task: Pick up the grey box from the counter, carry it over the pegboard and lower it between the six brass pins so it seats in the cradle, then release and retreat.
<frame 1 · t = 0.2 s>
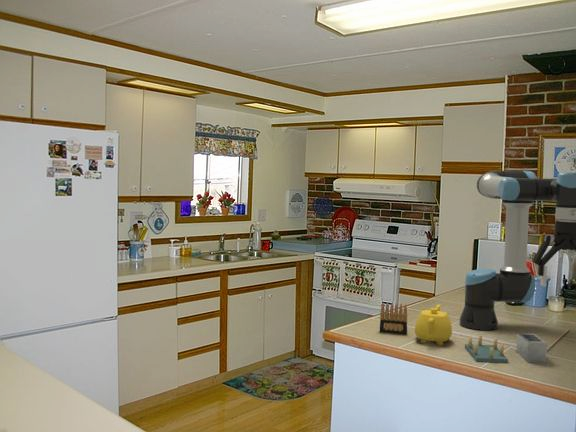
hand: (564, 286, 174), 27 cm above the countertop, fingers open, 13 cm apart
ammunition clip: (393, 333, 213), on the countertop
pegboard: (485, 354, 188), on the countertop
teapot: (433, 340, 204), on the countertop
grey box: (530, 357, 186), on the countertop
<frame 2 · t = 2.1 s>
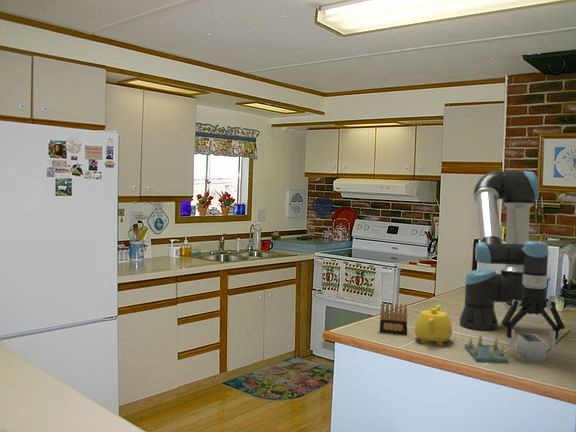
hand: (531, 348, 185), 3 cm above the countertop, fingers open, 13 cm apart
nothing on the countertop moved.
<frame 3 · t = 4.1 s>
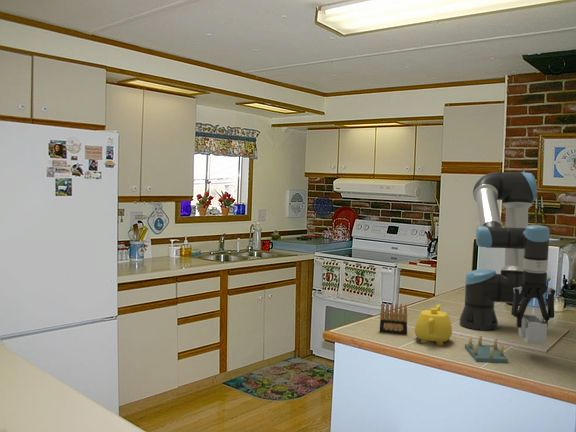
hand: (531, 336, 186), 7 cm above the countertop, fingers closed on grey box, 6 cm apart
grey box: (531, 338, 186), point 6 cm above the countertop, touching gripper
everything else where it was.
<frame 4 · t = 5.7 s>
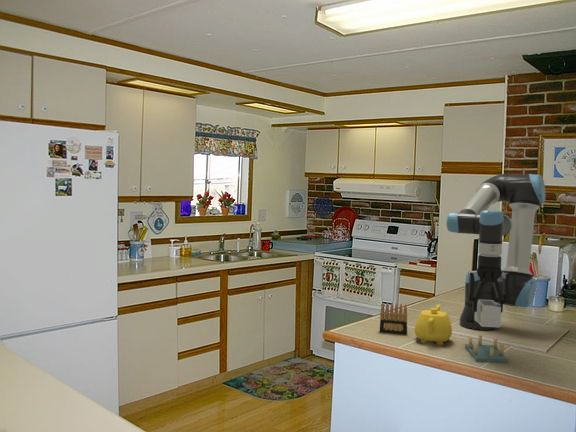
hand: (486, 321, 187), 12 cm above the countertop, fingers closed on grey box, 6 cm apart
grey box: (486, 322, 186), point 11 cm above the countertop, touching gripper
everything else where it was.
when the fingers open (2 cm above the countertop, at t = 7.4 s): grey box stays where it is, resting on pegboard.
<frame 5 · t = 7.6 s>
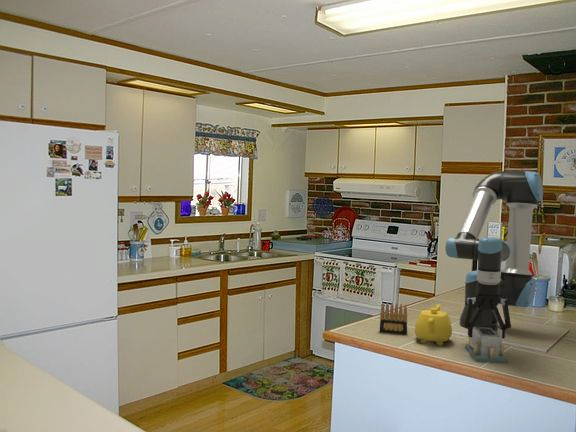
hand: (485, 346, 187), 3 cm above the countertop, fingers open, 8 cm apart
grey box: (485, 351, 187), point 1 cm above the countertop, touching pegboard
everything else where it was.
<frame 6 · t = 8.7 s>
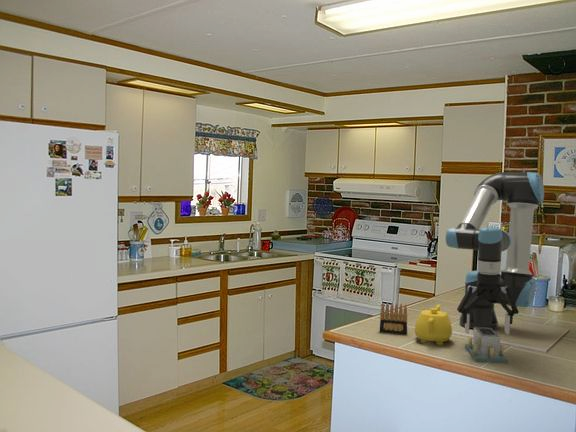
hand: (486, 332, 188), 8 cm above the countertop, fingers open, 13 cm apart
nothing on the countertop moved.
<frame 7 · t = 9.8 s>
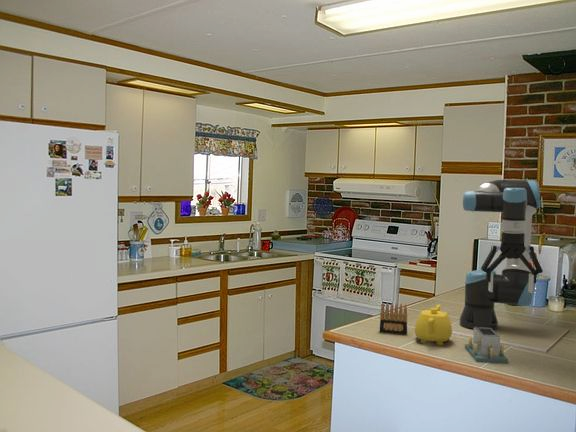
hand: (510, 291, 190), 22 cm above the countertop, fingers open, 13 cm apart
nothing on the countertop moved.
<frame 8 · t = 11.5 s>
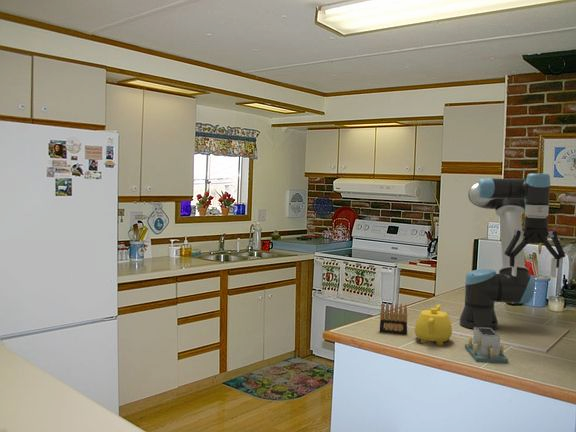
hand: (533, 276, 192), 27 cm above the countertop, fingers open, 13 cm apart
nothing on the countertop moved.
at the end: grey box 0.1 cm off-centre on the pegboard, point 1.2 cm above the pegboard's base; grey box tilted 0°; the gripper is holding nothing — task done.
